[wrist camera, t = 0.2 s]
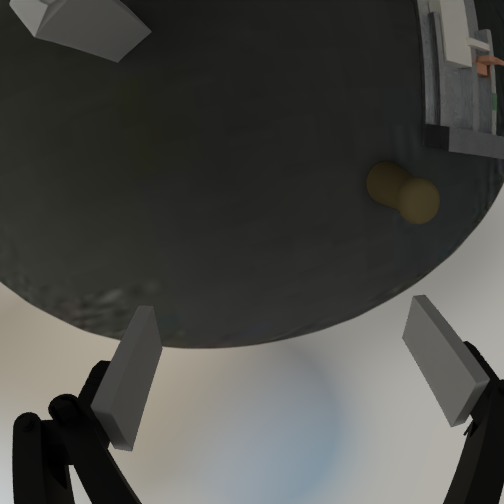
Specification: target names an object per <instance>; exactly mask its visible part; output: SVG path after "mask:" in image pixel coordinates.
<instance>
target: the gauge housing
mask: <svg viewBox="0 0 504 504" xmlns="http://www.w3.org/2000/svg"><path fill="white" fill-rule="evenodd" d="M414 5H415V13H416V20H417V29H418V38H419V49H420V63H421V82H422V145H425V146H429V147H433V148H437V149H441V150H445V151H450V152H458V153H466V154H473V155H481V156H487V157H494V158H500V159H504V137H502V136H497V135H496V111H497V94H496V83H495V67H494V65H487V76H478V75H477V61H476V57H478V56H486V55H490V56H493V46H492V38H491V31H490V30H488V29H485V30H480V31H478V24H477V18H476V12H475V6H474V1H473V0H464V6H465V12H466V18H467V25H468V32H469V38H473V39H476V40H478V41H481V42H484V43H486V44H489V48H490V51H487V52H484V51H481V50H478V49H475V48H472V47H470V49H471V60H472V67H468V68H456V67H452V66H448V65H444V60H443V48H442V38H441V29H440V21H439V14H438V12H434V11H433V12H431V13H430V8H429V2H428V0H414ZM493 57H494V56H493Z"/></svg>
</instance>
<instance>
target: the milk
mask: <svg viewBox="0 0 504 504" xmlns="http://www.w3.org/2000/svg"><path fill="white" fill-rule="evenodd" d="M10 6H11V8H12V9H13V10H14V12H15V13H16V14H17V15H18V17H19V18H20V19H21V21H22V22H23V23H24V24H25V26H26V27H27V28H28V30H29V31H30V32H31V33H32V35H33V36H34V37H36V38H40V39H43V40H47V41H51V42H54V43H58V44H61V45H65V46H68V47H72V48H75V49H78V50H81V51H85V52H88V53H91V54H94V55H97V56H100V57H103V58H106V59H109V60H111V61H114V62H117V63H118V62H119V61H120V60H121V59H122V58H123V57H124V56H125V55H126V54H128V53H129V52H130V51H131V50H132V49H133V48H134V47H135V46H136V45H137V44H139V43H140V42H141V41H142V40H143V39H144V38H145V37H147V36H148V35H149V34H150V33H151V32H152V31H151V30H150V29H149V28H148V27H147V26H146V25H145V24H144V23H143V22H142V21H141V20H140V19H139V18H138V17H137V16H136V15H135V14H134V13H133V12H132V11H131V10H130V9H129V8H128V7H127V6H126V5H125V4H123V3H122V2H121V1H120V0H11V1H10Z"/></svg>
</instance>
